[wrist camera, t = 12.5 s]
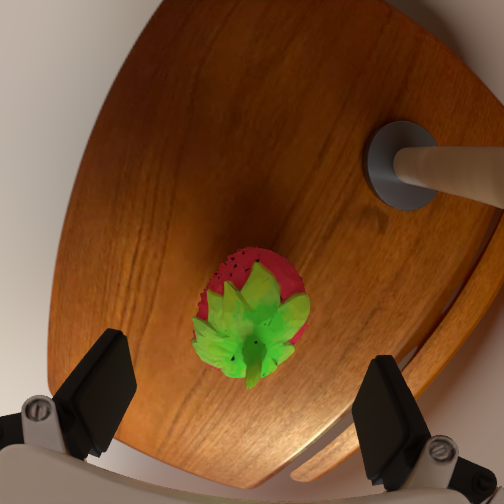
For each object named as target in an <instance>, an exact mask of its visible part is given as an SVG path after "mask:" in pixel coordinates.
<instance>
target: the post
mask: <svg viewBox="0 0 504 504" xmlns="http://www.w3.org/2000/svg"><path fill="white" fill-rule="evenodd" d="M363 171H364V176H365V179H366V181H367V184H368V186H369V188H370V189H371V191H372V192H373V193H374V195H375V196H376V197H377V198H378V199H379V200H381V201H382V202H383V203H385V204H387V205H389V206H391V207H394V208H396V209H399V210H405V211H410V210H416V209H419V208H422V207H423V206H425V205H427V204H428V203H429V202H430V201H431V200H432V199H433V198H434V197H435V195H436V194H437V192H438V191H441V192H445V193H449V194H453V195H457V196H461V197H465V198H468V199H472V200H475V201H479V202H482V203H486V204H489V205H492V206H496V207H499V208H502V209H504V147H488V146H438V145H437V143H436V141H435V140H434V138H433V137H432V136H431V134H430V133H429V132H428V131H427V130H425V129H424V128H423V127H421V126H420V125H418V124H416V123H413V122H409V121H395V122H391V123H388V124H385V125H383V126H381V127H379V128H378V129H377V130H376V131H374V132H373V134H372V135H371V136H370V138H369V139H368V141H367V143H366V146H365V149H364V153H363Z"/></svg>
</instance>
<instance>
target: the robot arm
mask: <svg viewBox="0 0 504 504" xmlns="http://www.w3.org/2000/svg"><path fill="white" fill-rule="evenodd" d="M136 389H137V383H136V379H135V375H134V370H133V366H132V361H131V356H130V351H129V346H128V341H127V337H126V336H125V335H123V332H122V331H120V330H115V329H110V328H108V329H106V330H105V332H104V333H103V334H102V335H101V336H100V338H99V339H98V340H97V341H96V343H95V344H94V345H93V346H92V347H91V349H90V350H89V351H88V352H87V354H86V355H85V356H84V357H83V359H82V360H81V361H80V362H79V364H78V365H77V366H76V368H75V369H74V370H73V371H72V373H71V374H70V375H69V377H68V378H67V379H66V380H65V382H64V383H63V384H62V386H61V387H60V388H59V390H58V391H57V392H56V394H55V395H54V396H53V398H52V399H51V398H49V397H47V396H44V395H36V396H32V397H30V398H29V399H27V400H26V401H25V402H24V404H23V406H22V411H21V412H20V413H16V414H11V415H6V416H1V417H0V504H504V488H503V487H502V486H500V487H499V488H498V487H497V480H496V477H495V474H494V473H493V472H492V471H490V470H489V469H487V468H484V467H482V466H479V465H477V464H475V463H472V462H470V461H468V460H466V459H463V458H461V457H459V456H458V453H459V451H458V446H457V445H456V443H455V442H454V441H453V440H452V439H451V438H449V437H448V436H444V435H436V436H433V437H431V434H430V432H429V430H428V428H427V425H426V423H425V421H424V418H423V416H422V414H421V412H420V410H419V408H418V406H417V403H416V401H415V399H414V397H413V395H412V393H411V391H410V389H409V388H408V386H407V384H406V382H405V380H404V378H403V376H402V374H401V372H400V370H399V368H398V366H397V364H396V362H395V360H394V358H393V357H392V355H377V356H376V357H375V359H372V360H371V362H370V364H369V367H368V370H367V372H366V375H365V377H364V380H363V382H362V384H361V387H360V389H359V391H358V394H357V396H356V398H355V401H354V403H353V405H352V415H353V419H354V423H355V427H356V431H357V436H358V440H359V444H360V448H361V453H362V457H363V461H364V466H365V471H366V475H367V478H368V479H369V480H371V481H372V485H373V486H374V485H380V484H384V488H385V491H384V492H383V493H381V494H375V495H368V496H362V497H353V498H345V499H334V500H320V501H294V502H293V501H292V502H291V501H289V502H287V501H254V500H242V499H231V498H223V497H214V496H208V495H202V494H196V493H190V492H185V491H180V490H175V489H171V488H166V487H162V486H158V485H154V484H150V483H147V482H143V481H140V480H136V479H133V478H130V477H126V476H123V475H120V474H117V473H114V472H111V471H108V470H106V469H103V468H100V467H97V466H95V465H92V464H89V463H87V461H86V458H87V456H88V454H91V455H93V456H96V457H98V458H99V457H100V455H101V453H102V452H106V451H107V449H108V447H109V445H110V443H111V441H112V439H113V437H114V434H115V432H116V430H117V428H118V426H119V424H120V422H121V420H122V418H123V416H124V414H125V412H126V410H127V408H128V406H129V404H130V402H131V400H132V398H133V396H134V394H135V392H136Z"/></svg>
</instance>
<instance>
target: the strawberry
mask: <svg viewBox="0 0 504 504" xmlns="http://www.w3.org/2000/svg"><path fill="white" fill-rule="evenodd" d="M302 279H303V278H301V277H300V276H299V274H298V273H297V271H296V270H295V267H294V265H293V264H291V263H290V262H289V261H287V260H286V258H285V257H282V255H279V254H277V253H275V252H273V251H271V249H268V250H267V249H263V248H258V247H257V246H255V247H249V246H248V247H246V248H244V249H237V252H236V253H235V254H232V255H228V261H226V262H225V263H224V262H223V263H222V264H220V269H219V270H218V271H216V273H214V277H213V278H212V279H210V282H209V284H207V287H206V289H204V291H205V292H204V293H201V294H200V296H201V298H202V299H201V302H199V303H198V306H199V312H198V313H197V314H196V317H193V318H192V320H193V324H194V330H193V333H194V338H193V339H192V340H191V342H192V344H193V346H194V348H195V351H196V352H197V354H198V356H199V357H200V358H201V360H202V361H204V362H205V363H206V364H207V365H209V366H210V367H212V368H215V369H217V370H218V371H223V373H224V374H225V375H227V376H228V377H234V378H242V377H245V385H246V387H247V388H248V389H250V388H252V387H254V386H255V385H256V383H257V382H258V379H259V378H263V377H265V376H267V375H268V374H271V373H272V372H274V371H275V370H276V369H277V366H278V365H279V364H281V363H282V362H284V361H285V360H286V359H287V358H288V357H289V356H290V355H292V353H293V352H294V350H295V348H294V344H295V343H296V342H297V341H298V340H299V339H300V337H301V336H302V334H303V332H304V330H305V329H306V327H307V326H308V325H306V322H307V317H308V315H309V312H310V298H309V296H308V295H307V294H306V292H305V288H304V284H303V281H302Z"/></svg>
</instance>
